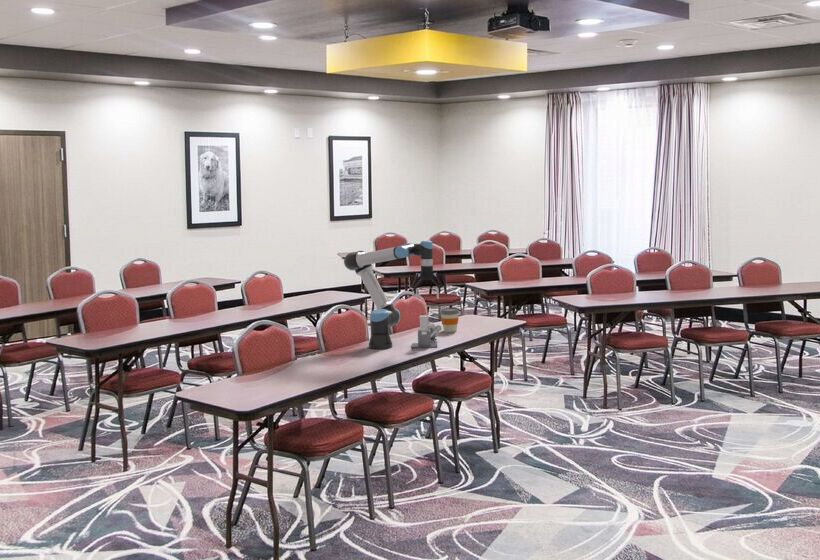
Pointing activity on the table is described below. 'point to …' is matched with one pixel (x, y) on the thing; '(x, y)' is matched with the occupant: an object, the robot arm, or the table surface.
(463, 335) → the table surface
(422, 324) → the column
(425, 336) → the stand base
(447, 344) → the table surface
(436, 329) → the valve
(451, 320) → the reusable coffee cup
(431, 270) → the robot arm
